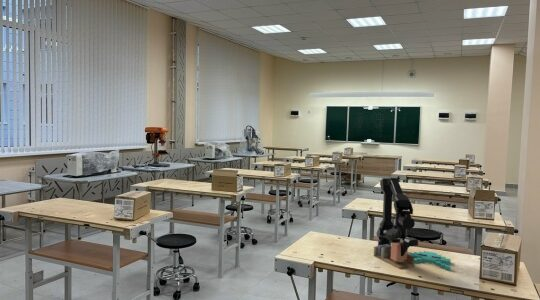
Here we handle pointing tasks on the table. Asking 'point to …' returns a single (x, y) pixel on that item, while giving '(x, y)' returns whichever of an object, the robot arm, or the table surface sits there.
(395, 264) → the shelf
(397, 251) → the salmon pink block
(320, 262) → the table surface
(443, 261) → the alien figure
